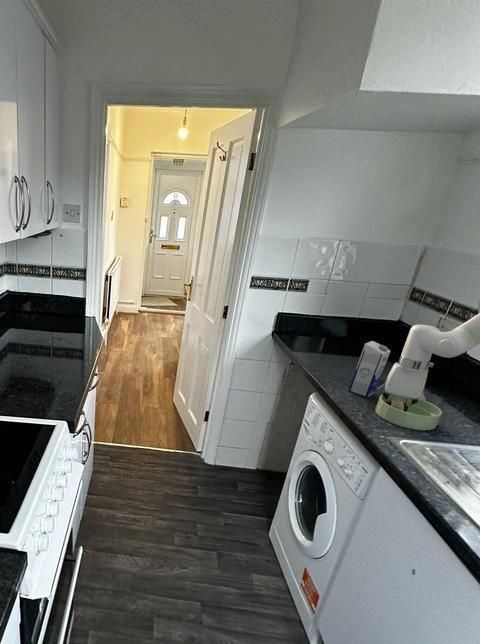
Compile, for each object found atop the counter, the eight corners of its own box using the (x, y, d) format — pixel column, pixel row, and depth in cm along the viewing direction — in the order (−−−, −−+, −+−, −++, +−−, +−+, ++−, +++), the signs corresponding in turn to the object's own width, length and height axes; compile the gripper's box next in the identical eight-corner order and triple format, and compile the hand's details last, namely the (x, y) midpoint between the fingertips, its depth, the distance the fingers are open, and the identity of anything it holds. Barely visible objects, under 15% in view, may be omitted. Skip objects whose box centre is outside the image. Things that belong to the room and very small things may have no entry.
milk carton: (355, 388, 162) (372, 340, 154) (373, 394, 158) (392, 345, 149) (347, 392, 158) (365, 343, 150) (366, 399, 154) (385, 349, 145)
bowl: (431, 416, 143) (437, 402, 141) (439, 437, 129) (446, 421, 127) (374, 403, 151) (379, 389, 149) (375, 421, 137) (380, 406, 135)
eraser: (398, 411, 143) (402, 401, 141) (400, 418, 138) (404, 408, 137) (387, 408, 144) (390, 399, 143) (387, 415, 140) (391, 405, 138)
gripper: (442, 365, 133) (421, 415, 140) (382, 354, 141) (365, 402, 148) (446, 372, 127) (424, 424, 135) (383, 360, 135) (365, 410, 142)
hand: (393, 412), depth 141 cm, fingers closed on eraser, 3 cm apart
